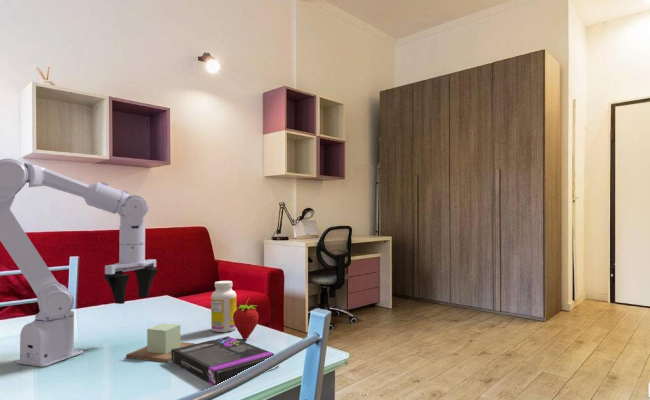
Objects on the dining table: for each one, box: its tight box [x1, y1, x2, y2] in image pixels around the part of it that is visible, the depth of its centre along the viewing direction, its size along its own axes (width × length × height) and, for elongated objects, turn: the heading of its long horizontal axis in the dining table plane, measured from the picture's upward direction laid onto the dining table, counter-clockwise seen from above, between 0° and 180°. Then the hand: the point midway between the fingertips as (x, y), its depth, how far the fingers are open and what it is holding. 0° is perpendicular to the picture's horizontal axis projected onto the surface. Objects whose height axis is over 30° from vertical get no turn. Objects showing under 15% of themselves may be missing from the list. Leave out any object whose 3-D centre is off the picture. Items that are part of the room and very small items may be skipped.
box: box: [171, 336, 279, 386], centre depth 86 cm, size 14×4×20 cm
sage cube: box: [146, 323, 181, 354], centre depth 95 cm, size 5×5×5 cm
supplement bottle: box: [210, 280, 238, 333], centre depth 113 cm, size 7×7×13 cm
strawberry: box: [233, 297, 259, 340], centre depth 104 cm, size 6×8×10 cm
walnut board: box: [126, 341, 195, 363], centre depth 95 cm, size 11×11×1 cm
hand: (132, 300), depth 102 cm, fingers open, 7 cm apart
